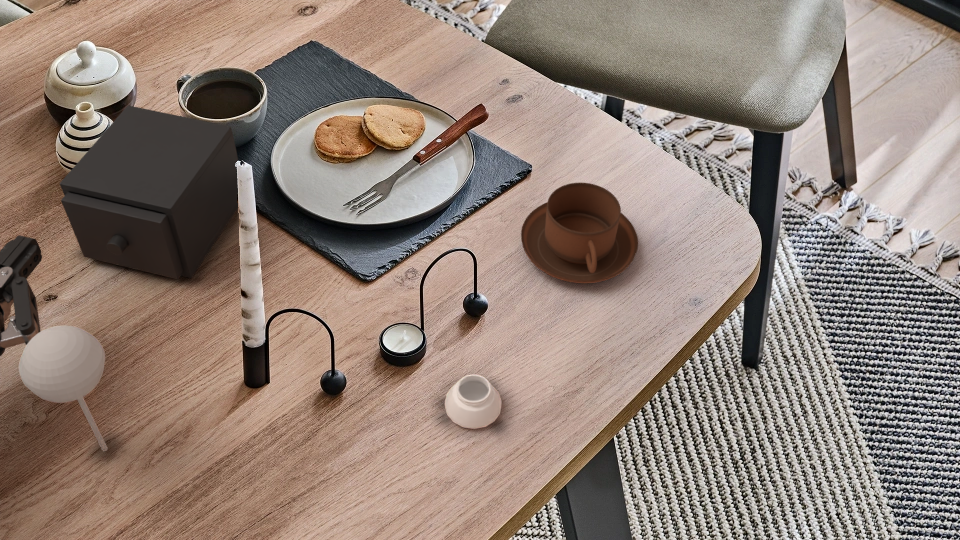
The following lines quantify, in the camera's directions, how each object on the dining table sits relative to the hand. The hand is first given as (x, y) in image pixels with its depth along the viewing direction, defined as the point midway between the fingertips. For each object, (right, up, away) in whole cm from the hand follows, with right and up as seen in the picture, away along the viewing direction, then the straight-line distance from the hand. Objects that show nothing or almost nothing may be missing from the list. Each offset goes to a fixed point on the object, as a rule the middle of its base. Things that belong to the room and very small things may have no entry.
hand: (30, 243), depth 82 cm
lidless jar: (+39, -15, +2) cm, 41 cm away
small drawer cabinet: (+7, +3, +17) cm, 18 cm away
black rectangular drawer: (+6, +2, +15) cm, 16 cm away
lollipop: (+7, -18, -2) cm, 19 cm away
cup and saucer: (+49, 0, +16) cm, 52 cm away
